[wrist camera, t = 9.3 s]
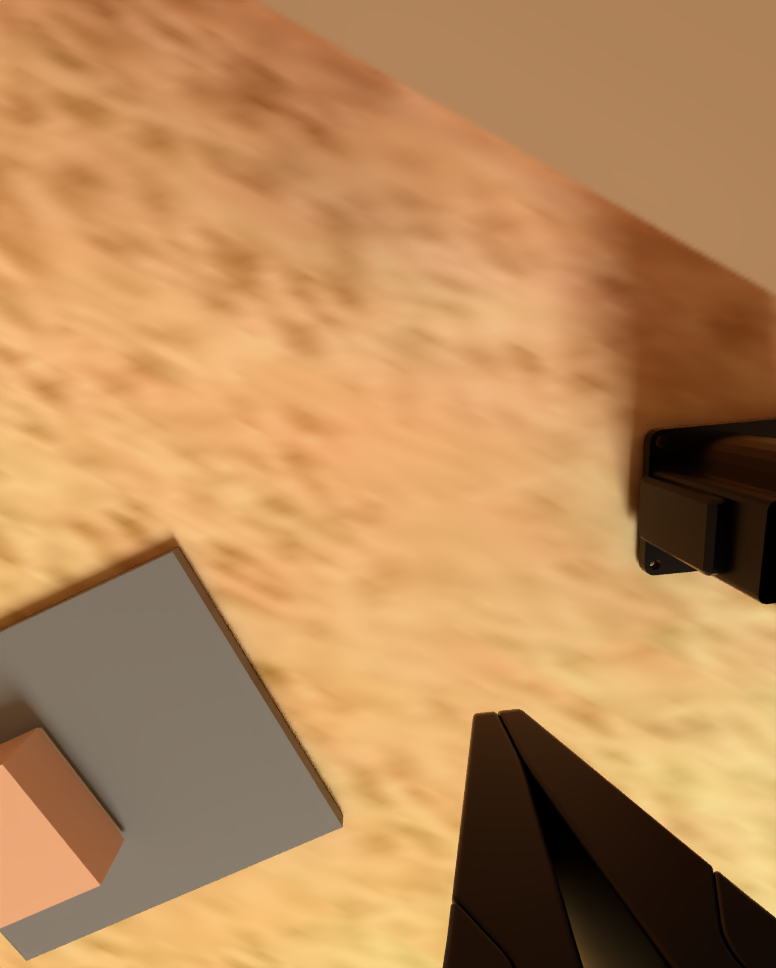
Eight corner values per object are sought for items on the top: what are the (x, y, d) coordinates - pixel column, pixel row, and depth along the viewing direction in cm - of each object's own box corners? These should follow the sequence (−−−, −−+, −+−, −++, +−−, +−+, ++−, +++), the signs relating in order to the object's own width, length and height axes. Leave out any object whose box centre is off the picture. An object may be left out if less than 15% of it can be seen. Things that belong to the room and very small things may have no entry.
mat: (178, 546, 19) (172, 552, 19) (342, 815, 23) (342, 826, 22) (-176, 712, 20) (-192, 721, 20) (34, 946, 24) (26, 960, 23)
